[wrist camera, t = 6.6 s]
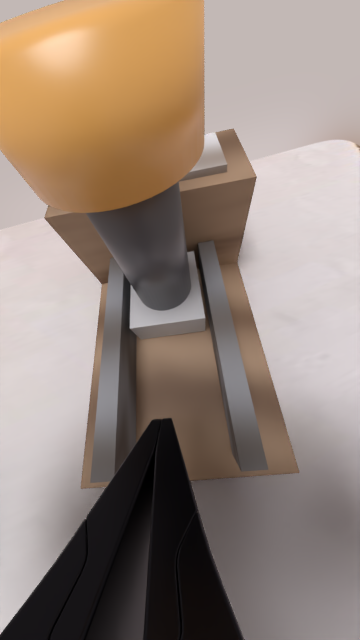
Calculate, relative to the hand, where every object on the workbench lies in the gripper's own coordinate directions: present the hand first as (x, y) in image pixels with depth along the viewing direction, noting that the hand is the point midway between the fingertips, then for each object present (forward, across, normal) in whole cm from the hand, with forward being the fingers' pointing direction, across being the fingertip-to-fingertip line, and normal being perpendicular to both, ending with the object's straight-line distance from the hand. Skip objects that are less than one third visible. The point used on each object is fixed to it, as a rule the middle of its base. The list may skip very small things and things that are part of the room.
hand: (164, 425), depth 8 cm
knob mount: (+9, 0, -1) cm, 9 cm away
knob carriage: (+10, 0, -3) cm, 10 cm away
